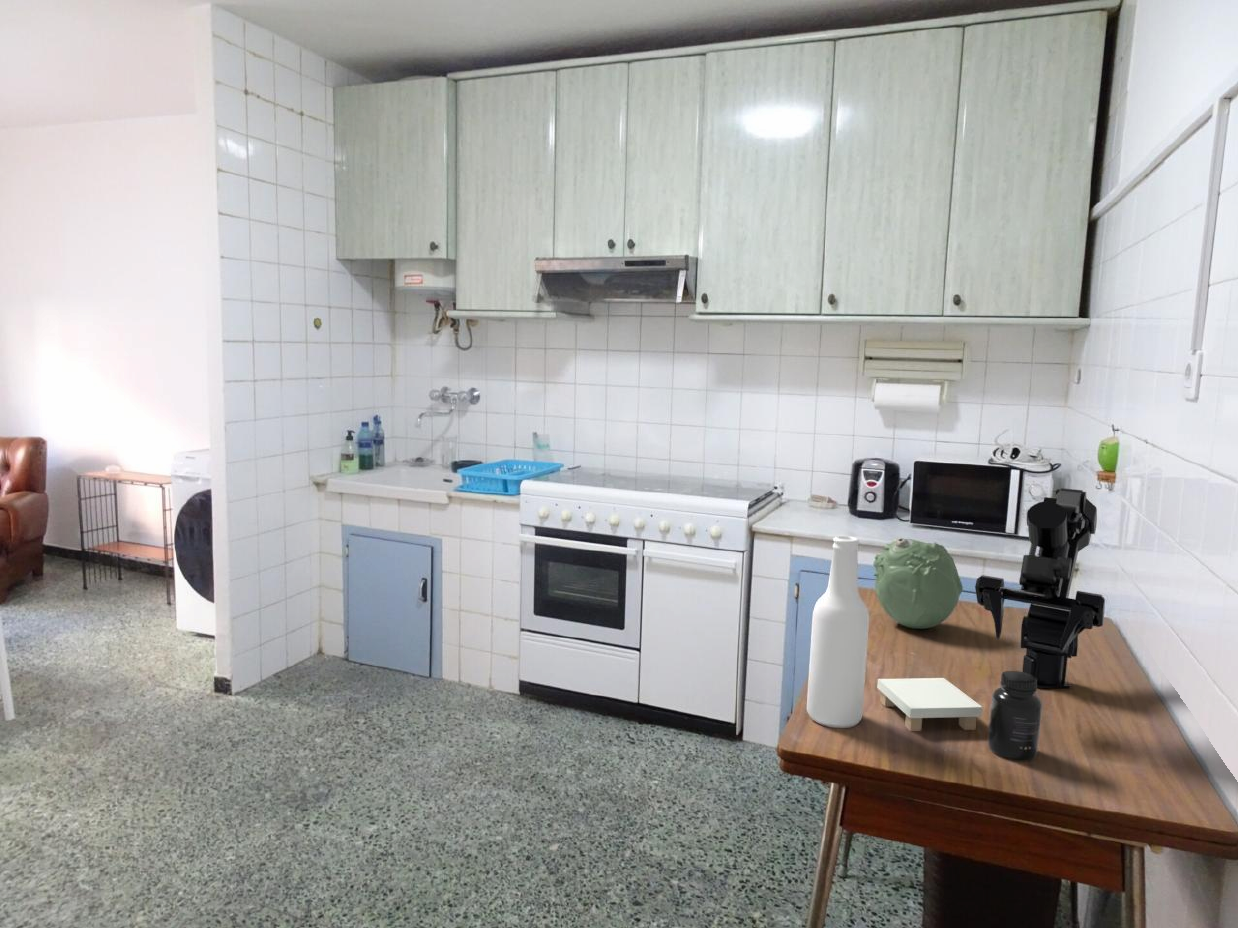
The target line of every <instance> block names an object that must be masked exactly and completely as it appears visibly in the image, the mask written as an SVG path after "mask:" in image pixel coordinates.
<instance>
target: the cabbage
mask: <svg viewBox="0 0 1238 928" xmlns="http://www.w3.org/2000/svg"><path fill="white" fill-rule="evenodd" d="M883 549H884V550H882V551H881V554H876V555H875V556H874V561H873V567H874V568H875V573H874V574H873V575H872V576H873V577H874V578H875V579H874V580H875V583H874V590H875V593H876V597H877V599H878V602H879V603H880V605H881V608H883V610H884V612H885V613H886V614H887V616H889V618H890V619H891V620H893V621H894V622H896V623H898V624H900V625H902V626H904V627H906V628H909V629H912V630H913V629H914V630H915V629H917V630H918V629H919V630H925V629H929V628H933V627H936V626H939V625H940V624H941V623H943V622H944V621H946V620H947V619H948V618H949V617H950V616H951V615H952V614H953V612H954V611H955V609H956V607H957V606H958V602H959V599H960V596H961V594H962V592H963V588H964V587H963V582H962V581H961V578H960V575H959V573H958V569H957V566H956V564H955V562H954V558H953V557H952V555H951V554H950V553H948V550H947V549H946V547H945V546H944V545H943V544H939V543H937V542H933V543H931V542H927V543H926V542H924V541H920V540H917V539H912V538H911V539H910V538H895V539H893V540H892V541H890V543H886V545H885V546H884V547H883Z"/></svg>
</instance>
